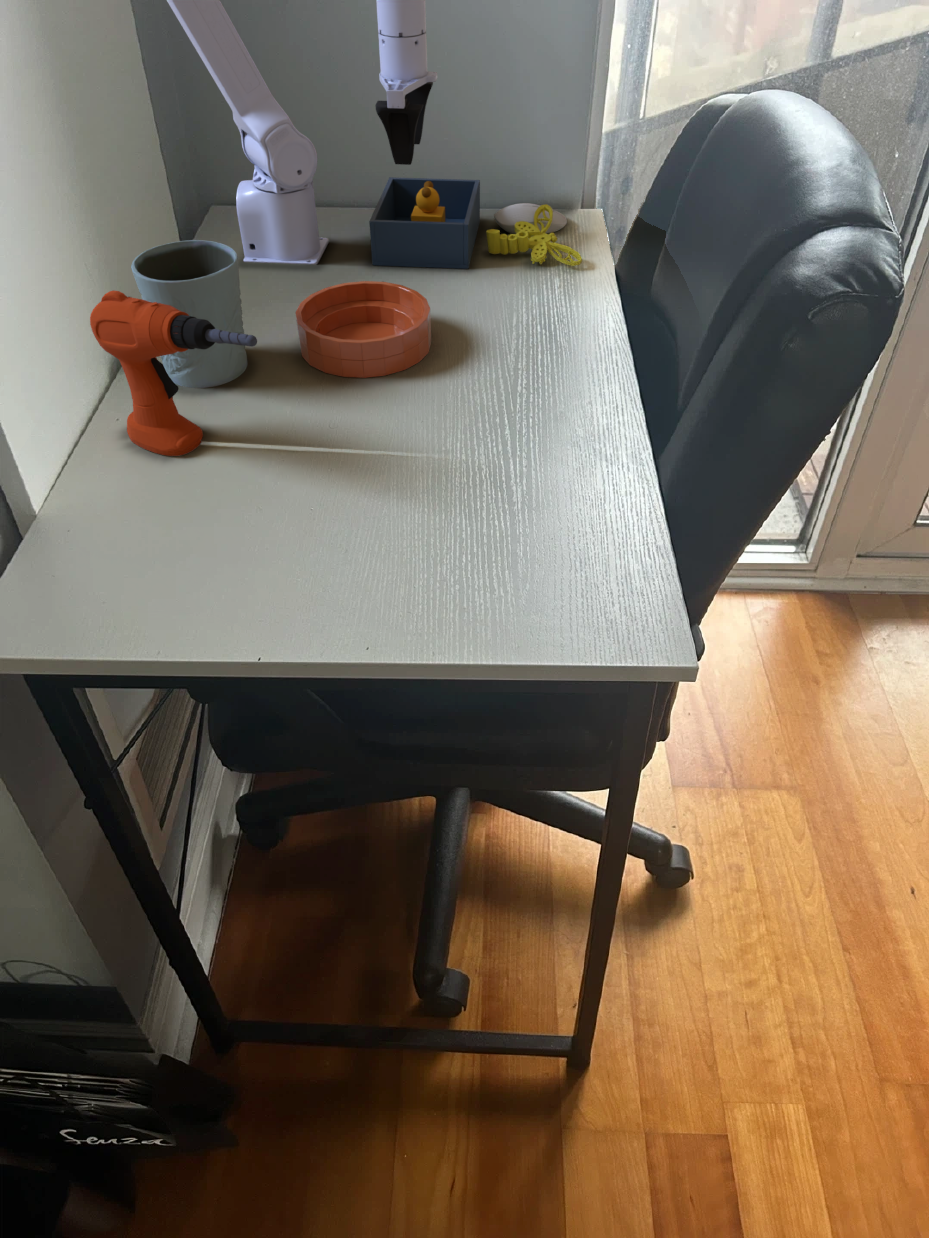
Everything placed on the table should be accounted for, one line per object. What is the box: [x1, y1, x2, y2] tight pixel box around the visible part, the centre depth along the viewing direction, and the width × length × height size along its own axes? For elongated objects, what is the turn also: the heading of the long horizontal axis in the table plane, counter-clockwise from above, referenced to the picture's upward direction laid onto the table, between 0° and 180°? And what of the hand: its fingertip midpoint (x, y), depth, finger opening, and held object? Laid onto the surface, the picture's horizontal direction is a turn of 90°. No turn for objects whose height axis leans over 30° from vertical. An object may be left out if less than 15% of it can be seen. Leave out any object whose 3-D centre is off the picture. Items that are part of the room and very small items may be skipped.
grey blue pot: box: [130, 239, 248, 389], centre depth 96 cm, size 10×10×12 cm
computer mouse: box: [493, 202, 568, 234], centre depth 126 cm, size 6×10×3 cm, turn 104°
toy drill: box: [89, 289, 258, 457], centre depth 84 cm, size 5×19×15 cm, turn 62°
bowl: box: [294, 280, 432, 379], centre depth 102 cm, size 14×14×4 cm
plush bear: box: [411, 181, 445, 222], centre depth 121 cm, size 4×3×7 cm
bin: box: [368, 176, 481, 270], centre depth 122 cm, size 12×15×6 cm
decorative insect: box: [485, 203, 583, 267], centre depth 119 cm, size 13×3×10 cm
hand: (407, 153), depth 121 cm, fingers open, 7 cm apart
